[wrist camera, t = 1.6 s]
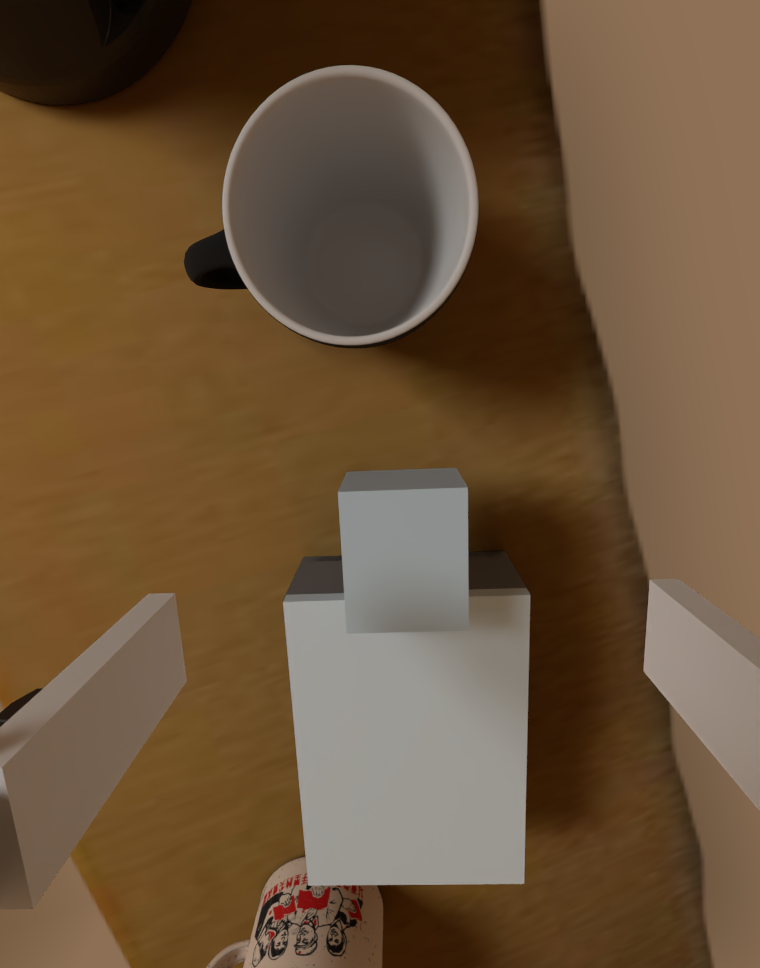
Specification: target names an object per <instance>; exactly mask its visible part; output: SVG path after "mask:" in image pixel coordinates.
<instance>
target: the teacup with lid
mask: <svg viewBox="0 0 760 968" xmlns="http://www.w3.org/2000/svg"><path fill="white" fill-rule="evenodd" d="M382 947H383V902H382V897H381V894H380V892H379V889H378V887H377V885H326V886H308V877H307V866H306V856H304V857H300V858H297V859H294V860H292V861H290V862H288V863H286V864H284V865H283V866H281V867H280V868H279V869H278V870H276V871H275V872H274V873H273V874H272V876H271V877H270V878H269V880H268V881H267V883H266V885H265V887H264V889H263V892H262V896H261V899H260V903H259V907H258V911H257V915H256V919H255V923H254V927H253V931H252V935H251V939H247V940H242V941H239V942H236V943H233V944H231V945H229V946H228V947H226V948H225V949H223V950H222V951H221V952H219V953H218V954H217V955H216V956H215V957H214V958H213V960H212V961H211V962H210V963H209V964H208V966H207V967H206V968H230V967H232V966H233V965H235V964H237V963H239V962H242V961H245V963H244V967H243V968H382Z"/></svg>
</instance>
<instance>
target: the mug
mask: <svg viewBox="0 0 760 968" xmlns="http://www.w3.org/2000/svg"><path fill="white" fill-rule="evenodd" d="M222 214H223V224H224V230H222V231H220V232H218V233H216V234H214V235H212V236H209V237H207V238H204V239H202V240H200V241H198V242H196V243H194V244H193V245H191V246H190V247H189V248H188V250H187V251H186V253H185V259H184V265H185V269H186V272H187V275H188V276H189V278H190V280H191V281H193V282H194V283H195V284H196V285H199V286H202V287H207V288H214V289H248V290H249V291H250V293H251V294H252V296H253V297H254V298H255V299H256V301H257V302H258V303H259V304H260V305H261V306H262V307H263V308H264V309H265V310H266V311H267V312H268V313H269V314H270V315H271V316H272V317H273V318H275V319H276V320H277V321H278V322H279V323H281V324H282V325H284V326H285V327H287V328H288V329H290V330H292V331H293V332H295V333H297V334H299V335H301V336H303V337H305V338H308V339H310V340H312V341H315V342H318V343H321V344H325V345H329V346H334V347H341V348H368V347H375V346H380V345H384V344H387V343H390V342H393V341H396V340H398V339H400V338H402V337H404V336H406V335H408V334H410V333H412V332H413V331H415V330H416V329H418V328H419V327H421V326H422V325H424V324H425V323H426V322H427V321H428V320H429V319H431V318H432V317H433V316H434V315H435V314H436V313H437V312H438V311H439V310H440V309H441V308H442V306H443V305H444V304H445V303H446V301H447V300H448V299H449V298H450V296H451V295H452V293H453V292H454V290H455V289H456V287H457V286H458V284H459V282H460V280H461V278H462V276H463V274H464V272H465V270H466V268H467V265H468V263H469V260H470V258H471V254H472V251H473V248H474V244H475V240H476V235H477V228H478V220H479V196H478V186H477V179H476V174H475V170H474V166H473V162H472V159H471V156H470V153H469V150H468V148H467V146H466V144H465V142H464V139H463V137H462V135H461V134H460V132H459V130H458V128H457V127H456V125H455V124H454V122H453V121H452V119H451V118H450V117H449V115H448V114H447V113H446V111H445V110H444V109H443V108H442V107H441V106H440V105H439V104H438V103H437V102H436V101H435V100H434V99H433V98H432V97H431V96H430V95H429V94H428V93H426V92H425V91H424V90H422V89H421V88H420V87H418V86H417V85H415V84H414V83H412V82H410V81H408V80H407V79H405V78H403V77H401V76H398V75H396V74H394V73H391V72H388V71H385V70H382V69H378V68H374V67H369V66H360V65H339V66H332V67H326V68H322V69H318V70H314V71H311V72H309V73H306V74H303V75H301V76H299V77H297V78H295V79H293V80H291V81H289V82H288V83H286V84H285V85H283V86H282V87H280V88H279V89H277V90H276V91H275V92H274V93H273V94H271V95H270V96H269V97H268V98H267V99H266V100H265V101H264V102H263V103H262V104H261V105H260V106H259V107H258V108H257V109H256V111H255V112H254V113H253V114H252V115H251V117H250V118H249V120H248V121H247V123H246V124H245V126H244V127H243V129H242V131H241V133H240V134H239V136H238V138H237V140H236V142H235V145H234V147H233V150H232V152H231V155H230V158H229V161H228V165H227V168H226V173H225V178H224V185H223V193H222Z"/></svg>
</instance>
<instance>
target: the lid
mask: <svg viewBox="0 0 760 968" xmlns="http://www.w3.org/2000/svg"><path fill="white" fill-rule="evenodd" d="M338 502H339V518H340V534H341V551H342V567H343V583H344V593H331V594H295V595H286V597H285V599H284V601H283V607H284V618H285V629H286V640H287V652H288V663H289V674H290V685H291V697H292V708H293V719H294V730H295V742H296V753H297V764H298V775H299V787H300V798H301V809H302V820H303V832H304V843H305V854H306V865H307V877H308V886H326V885H442V884H524V867H525V821H526V776H527V730H528V684H529V638H530V593H529V592H528V590H527V588H508V589H473V590H469V585H468V487H467V485H466V483H465V482H464V480H463V479H462V477H461V475H460V474H459V472H458V470H457V469H456V468H437V469H409V470H382V471H354V472H347V473H346V475H345V477H344V480H343V482H342V484H341V486H340V488H339V491H338Z"/></svg>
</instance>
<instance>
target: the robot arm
mask: <svg viewBox="0 0 760 968" xmlns="http://www.w3.org/2000/svg"><path fill="white" fill-rule="evenodd" d="M190 2H191V0H0V91H2V92H4V93H7V94H9V95H11V96H14V97H17V98H20V99H23V100H27V101H31V102H35V103H41V104H49V105H73V104H82V103H87V102H91V101H95V100H98V99H102V98H104V97H107V96H109V95H112V94H114V93H116V92H118V91H120V90H122V89H124V88H125V87H127V86H129V85H130V84H132V83H133V82H134V81H136V80H137V79H138V78H140V77H141V76H142V75H143V74H144V73H146V72H147V71H148V70H149V69H150V68H151V67H152V66H153V65H154V64H155V63H156V62H157V61H158V59H159V58H160V57H161V56H162V55H163V53H164V52H165V51H166V49H167V48H168V47H169V45H170V44H171V42H172V41H173V39H174V37H175V35H176V34H177V32H178V30H179V28H180V26H181V24H182V22H183V20H184V18H185V15H186V13H187V10H188V8H189V5H190ZM643 671H644V672H645V674H646V675H647V676H648V677H649V678H650V680H651V681H652V682H653V683H654V685H655V686H656V687H657V688H658V689H659V691H660V692H661V693H662V694H663V695H664V697H665V698H666V699H667V700H668V701H669V703H670V704H671V705H672V706H673V707H674V709H675V710H676V711H677V712H678V713H679V715H680V716H681V717H682V718H683V719H684V721H685V722H686V723H687V724H688V725H689V727H690V728H691V729H692V730H693V731H694V733H695V734H696V735H697V736H698V737H699V739H700V740H701V741H702V742H703V743H704V745H705V746H706V747H707V748H708V750H709V751H710V752H711V753H712V754H713V756H715V758H716V759H717V760H718V762H719V763H720V764H721V765H722V766H723V768H724V769H725V770H726V771H727V772H728V774H729V775H730V776H731V777H732V778H733V780H734V781H735V782H736V783H737V784H738V786H739V787H740V788H741V789H742V790H743V792H744V793H745V794H746V795H747V796H748V798H749V799H750V800H751V801H752V802H753V804H754V805H755V806H756V807H757V808H758V810H759V811H760V638H759V637H757V636H756V635H755V634H753V633H752V632H750V631H749V630H748V629H746V628H745V627H744V626H742V625H741V624H739V623H738V622H737V621H735V620H734V619H733V618H731V617H730V616H728V615H727V614H726V613H724V612H723V611H722V610H720V609H719V608H718V607H716V606H715V605H713V604H712V603H711V602H709V601H708V600H707V599H705V598H704V597H702V596H701V595H699V594H698V593H697V592H696V591H694V590H693V589H691V588H690V587H689V586H687V585H686V584H685V583H683V582H682V581H681V580H679V579H661V580H660V579H659V580H650V584H649V598H648V613H647V627H646V641H645V656H644V670H643ZM186 682H187V680H186V672H185V664H184V657H183V649H182V642H181V634H180V626H179V619H178V611H177V604H176V596H175V593H161V594H148V595H147V596H145V597H144V598H143V599H142V600H141V601H140V602H139V603H138V604H137V605H135V606H134V607H133V608H132V609H131V610H130V611H129V612H128V613H127V614H125V615H124V616H123V617H122V618H121V619H120V620H119V621H118V622H117V623H115V624H114V625H113V626H112V627H111V628H110V629H109V630H108V631H107V632H105V633H104V634H103V635H102V636H101V637H100V638H99V639H98V640H97V641H95V642H94V643H93V644H92V645H91V646H90V647H89V648H88V649H87V650H85V651H84V652H83V653H82V654H81V655H80V656H79V657H78V658H77V659H75V660H74V661H73V662H72V663H71V664H70V665H69V666H68V667H67V668H65V669H64V670H63V671H62V672H61V673H60V674H59V675H58V676H57V677H55V678H54V679H53V680H52V681H51V682H50V683H49V684H48V685H47V686H45V687H44V688H43V689H36V690H34V691H32V692H30V693H29V694H27V695H25V696H23V697H22V698H20V699H18V700H16V701H15V702H13V703H11V704H10V705H9V706H8V707H7V708H5V709H4V710H3V711H2V712H1V713H0V909H34V907H35V906H36V904H37V903H38V902H39V900H40V899H41V897H42V896H43V894H44V892H45V891H46V890H47V888H48V887H49V885H50V884H51V882H52V881H53V879H54V878H55V876H56V875H57V873H58V872H59V870H60V869H61V867H62V865H63V864H64V863H65V861H66V860H67V858H68V857H69V855H70V854H71V853H72V851H73V850H74V848H75V847H76V845H77V844H78V842H79V841H80V839H81V838H82V836H83V835H84V833H85V832H86V830H87V829H88V827H89V826H90V824H91V823H92V821H93V820H94V818H95V817H96V815H97V814H98V812H99V811H100V809H101V808H102V806H103V805H104V803H105V802H106V800H107V799H108V798H109V796H110V795H111V793H112V792H113V790H114V789H115V787H116V786H117V784H118V783H119V781H120V780H121V778H122V777H123V775H124V774H125V772H126V771H127V769H128V768H129V766H130V765H131V763H132V762H133V760H134V759H135V757H136V756H137V754H138V753H139V751H140V750H141V748H142V747H143V745H144V744H145V743H146V741H147V740H148V738H149V737H150V735H151V734H152V732H153V731H154V729H155V728H156V726H157V725H158V723H159V722H160V720H161V719H162V717H163V716H164V714H165V713H166V711H167V710H168V708H169V707H170V705H171V704H172V702H173V701H174V699H175V698H176V696H177V695H178V693H179V692H180V690H181V689H182V687H183V686H184V685H185V683H186Z"/></svg>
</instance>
